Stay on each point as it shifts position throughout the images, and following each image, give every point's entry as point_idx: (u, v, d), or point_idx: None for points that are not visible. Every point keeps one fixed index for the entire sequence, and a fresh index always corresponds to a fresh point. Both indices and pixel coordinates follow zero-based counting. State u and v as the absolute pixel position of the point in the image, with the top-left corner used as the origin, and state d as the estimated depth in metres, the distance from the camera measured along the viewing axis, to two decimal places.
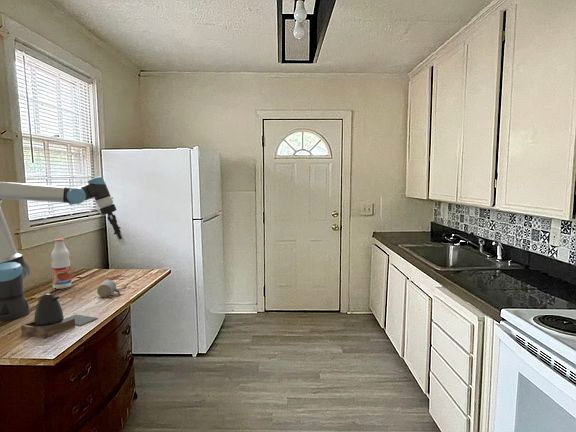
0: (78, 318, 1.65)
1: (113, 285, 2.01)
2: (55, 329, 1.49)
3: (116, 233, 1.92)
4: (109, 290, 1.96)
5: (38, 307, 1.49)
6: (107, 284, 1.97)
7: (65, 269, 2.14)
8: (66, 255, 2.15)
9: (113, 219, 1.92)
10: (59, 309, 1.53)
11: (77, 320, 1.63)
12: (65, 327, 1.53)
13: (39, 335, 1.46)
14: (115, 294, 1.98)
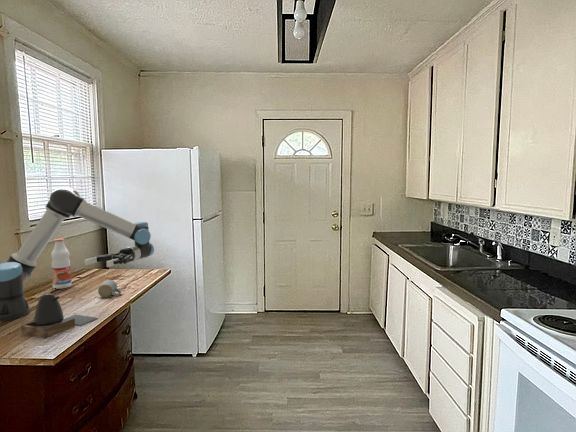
0: (78, 318, 1.65)
1: (114, 285, 2.01)
2: (55, 329, 1.49)
3: (120, 259, 1.78)
4: (110, 290, 1.97)
5: (38, 307, 1.49)
6: (108, 284, 1.97)
7: (65, 269, 2.14)
8: (66, 255, 2.15)
9: (130, 259, 1.86)
10: (59, 309, 1.53)
11: (77, 320, 1.63)
12: (65, 327, 1.53)
13: (39, 335, 1.46)
14: (116, 294, 1.98)
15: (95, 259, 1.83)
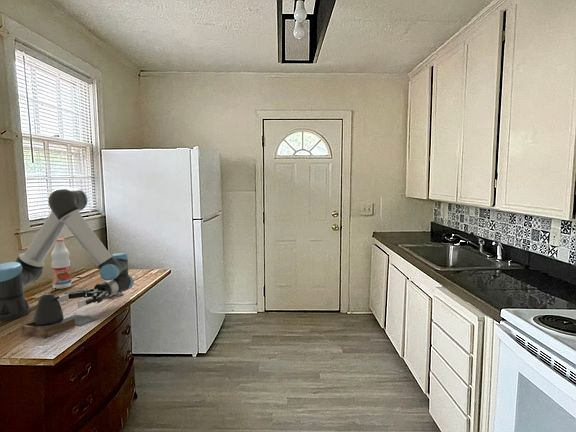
0: (78, 318, 1.65)
1: None
2: (55, 329, 1.49)
3: (94, 298, 1.64)
4: None
5: (38, 307, 1.49)
6: None
7: (65, 269, 2.14)
8: (66, 255, 2.15)
9: (105, 296, 1.71)
10: (59, 309, 1.53)
11: (77, 320, 1.63)
12: (65, 327, 1.53)
13: (39, 335, 1.46)
14: (117, 294, 1.98)
15: (67, 296, 1.68)
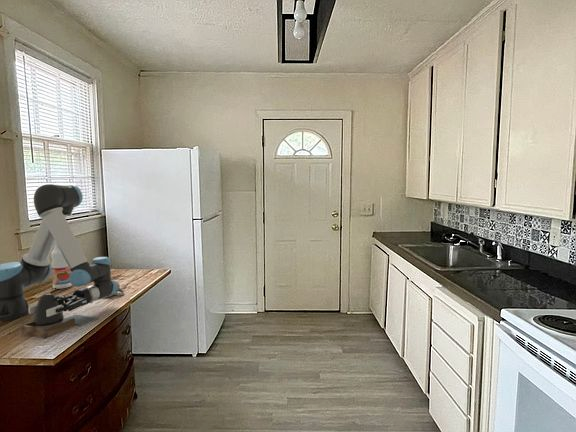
0: (78, 318, 1.65)
1: (117, 285, 2.01)
2: (55, 329, 1.49)
3: (64, 306, 1.53)
4: None
5: (38, 307, 1.49)
6: None
7: (65, 269, 2.14)
8: None
9: (81, 304, 1.60)
10: None
11: (77, 320, 1.63)
12: (65, 327, 1.53)
13: (39, 335, 1.46)
14: (119, 294, 1.99)
15: None
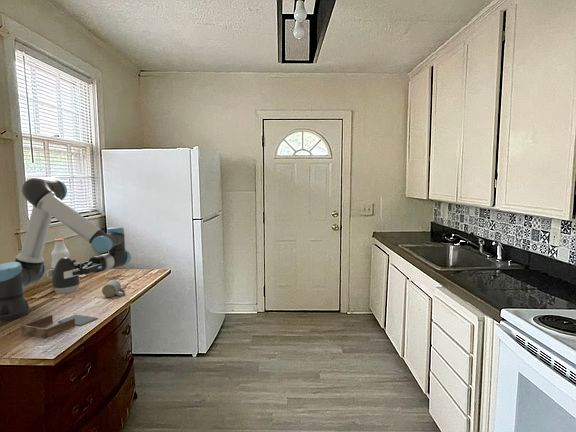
0: (78, 318, 1.65)
1: (118, 285, 2.01)
2: (55, 329, 1.49)
3: (81, 270, 1.58)
4: (114, 290, 1.97)
5: (56, 270, 1.55)
6: (112, 284, 1.98)
7: None
8: (66, 255, 2.15)
9: (97, 269, 1.65)
10: None
11: (77, 320, 1.63)
12: (65, 327, 1.53)
13: (39, 335, 1.46)
14: (120, 294, 1.99)
15: None
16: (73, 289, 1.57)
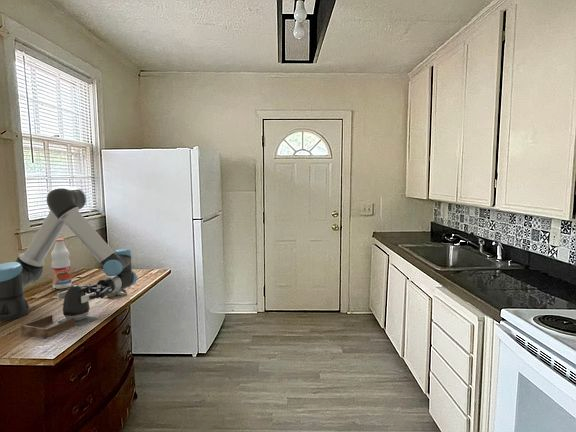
0: None
1: None
2: (55, 329, 1.49)
3: (97, 293, 1.63)
4: None
5: (66, 298, 1.59)
6: None
7: (65, 269, 2.14)
8: (66, 255, 2.15)
9: (108, 292, 1.71)
10: None
11: None
12: (65, 327, 1.53)
13: (39, 335, 1.46)
14: (122, 294, 1.99)
15: None
16: (83, 316, 1.62)
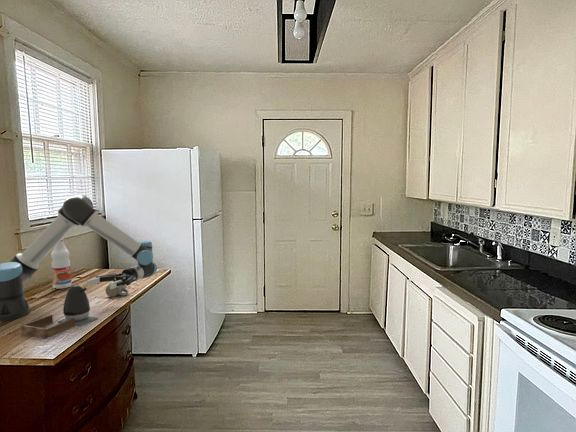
0: None
1: None
2: (55, 329, 1.49)
3: (123, 281, 1.77)
4: (117, 290, 1.97)
5: (67, 298, 1.59)
6: None
7: (65, 269, 2.14)
8: (66, 255, 2.15)
9: (133, 280, 1.84)
10: (86, 300, 1.63)
11: None
12: (65, 327, 1.53)
13: (39, 335, 1.46)
14: (123, 294, 1.99)
15: (98, 279, 1.81)
16: (84, 316, 1.62)
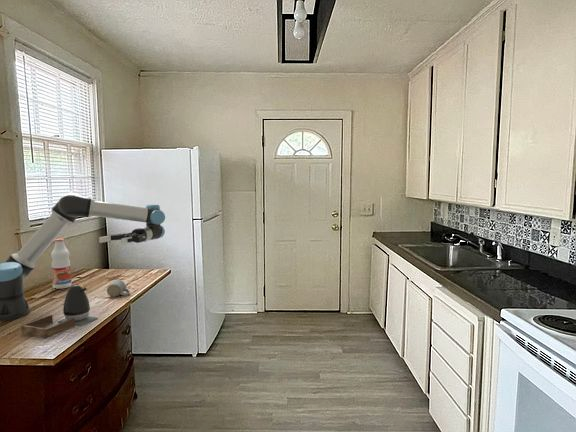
0: None
1: (122, 285, 2.02)
2: (55, 329, 1.49)
3: (134, 238, 1.85)
4: (119, 290, 1.97)
5: (67, 298, 1.59)
6: (117, 284, 1.98)
7: (65, 269, 2.14)
8: (66, 255, 2.15)
9: (142, 238, 1.92)
10: (86, 300, 1.63)
11: None
12: (65, 327, 1.53)
13: (39, 335, 1.46)
14: (124, 294, 1.99)
15: (109, 237, 1.89)
16: (84, 316, 1.62)
